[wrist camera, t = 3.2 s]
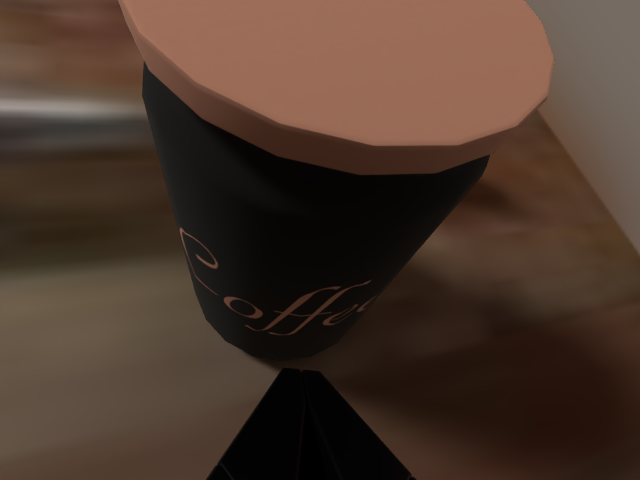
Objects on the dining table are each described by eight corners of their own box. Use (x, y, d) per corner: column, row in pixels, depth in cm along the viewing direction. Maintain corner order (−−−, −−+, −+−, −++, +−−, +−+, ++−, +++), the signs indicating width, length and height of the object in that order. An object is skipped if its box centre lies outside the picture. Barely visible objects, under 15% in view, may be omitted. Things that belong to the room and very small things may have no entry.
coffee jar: (164, 330, 21) (-24, 15, 6) (237, 194, 27) (233, -146, 12) (337, 390, 22) (578, 229, 6) (374, 242, 27) (547, -32, 12)
